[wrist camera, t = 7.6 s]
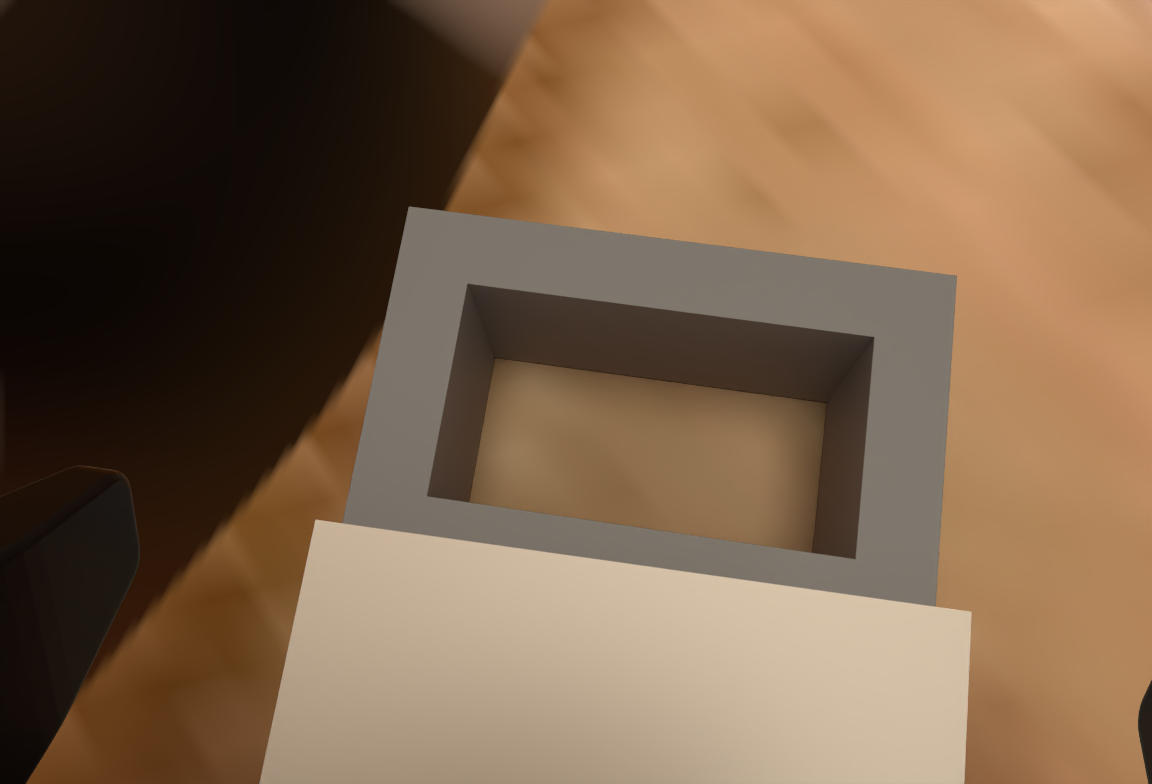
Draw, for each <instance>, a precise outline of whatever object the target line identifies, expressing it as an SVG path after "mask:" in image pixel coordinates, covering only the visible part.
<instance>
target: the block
mask: <svg viewBox="0 0 1152 784" xmlns="http://www.w3.org/2000/svg"><path fill="white" fill-rule="evenodd" d="M971 613H972V612H969V611H962V610H955V609H948V608H941V607H933V606H926V605H919V604H912V603H905V602H898V601H891V600H884V599H876V598H869V597H862V596H855V595H848V594H841V593H834V592H827V591H820V590H812V589H805V588H798V587H791V586H784V585H777V584H770V583H763V582H755V581H748V580H741V579H734V578H727V577H720V576H713V575H706V574H699V573H691V572H684V571H677V570H670V569H663V568H656V567H649V566H642V565H634V564H627V563H620V562H613V561H606V560H599V559H592V558H585V557H578V556H570V555H563V554H556V553H549V552H542V551H535V550H528V549H521V548H513V547H506V546H499V545H492V544H485V543H478V542H471V541H464V540H456V539H449V538H442V537H435V536H428V535H421V534H414V533H407V532H400V531H392V530H385V529H378V528H371V527H364V526H357V525H350V524H343V523H335V522H328V521H321V520H315V525H314V529H313V534H312V539H311V543H310V548H309V553H308V557H307V562H306V567H305V572H304V576H303V581H302V586H301V590H300V595H299V600H298V604H297V609H296V614H295V618H294V623H293V628H292V633H291V637H290V642H289V647H288V651H287V656H286V661H285V665H284V670H283V675H282V679H281V684H280V689H279V694H278V698H277V703H276V708H275V712H274V717H273V722H272V726H271V731H270V736H269V740H268V745H267V750H266V755H265V759H264V764H263V769H262V773H261V778H260V783H259V784H964V780H965V756H966V732H967V708H968V684H969V660H970V637H971Z"/></svg>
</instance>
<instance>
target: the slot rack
mask: <svg viewBox="0 0 1152 784" xmlns="http://www.w3.org/2000/svg"><path fill="white" fill-rule="evenodd" d="M956 283H957V276H955V275H947V274H939V273H931V272H924V271H916V270H908V269H900V268H892V267H884V266H876V265H868V264H860V263H852V262H844V261H836V260H828V259H820V258H812V257H804V256H797V255H789V254H781V253H773V252H765V251H757V250H749V249H741V248H733V247H725V246H717V245H709V244H701V243H693V242H685V241H677V240H670V239H662V238H654V237H646V236H638V235H630V234H622V233H614V232H606V231H598V230H590V229H582V228H574V227H566V226H558V225H550V224H543V223H535V222H527V221H519V220H511V219H503V218H495V217H487V216H479V215H471V214H463V213H455V212H447V211H439V210H431V209H423V208H416V207H409V209H408V214H407V219H406V224H405V228H404V233H403V238H402V242H401V247H400V252H399V257H398V262H397V266H396V271H395V276H394V280H393V285H392V290H391V295H390V299H389V304H388V309H387V314H386V318H385V323H384V328H383V333H382V337H381V342H380V347H379V352H378V356H377V361H376V366H375V371H374V375H373V380H372V385H371V390H370V394H369V399H368V404H367V409H366V413H365V418H364V423H363V428H362V433H361V437H360V442H359V447H358V452H357V456H356V461H355V466H354V471H353V475H352V480H351V485H350V490H349V494H348V499H347V504H346V509H345V513H344V518H343V524H350V525H357V526H364V527H371V528H378V529H385V530H392V531H400V532H407V533H414V534H421V535H428V536H435V537H442V538H449V539H456V540H464V541H471V542H478V543H485V544H492V545H499V546H506V547H513V548H521V549H528V550H535V551H542V552H549V553H556V554H563V555H570V556H578V557H585V558H592V559H599V560H606V561H613V562H620V563H627V564H634V565H642V566H649V567H656V568H663V569H670V570H677V571H684V572H691V573H699V574H706V575H713V576H720V577H727V578H734V579H741V580H748V581H755V582H763V583H770V584H777V585H784V586H791V587H798V588H805V589H812V590H820V591H827V592H834V593H841V594H848V595H855V596H862V597H869V598H876V599H884V600H891V601H898V602H905V603H912V604H919V605H926V606H933V607H935V605H936V590H937V575H938V559H939V544H940V529H941V513H942V498H943V483H944V467H945V452H946V436H947V421H948V406H949V390H950V375H951V360H952V344H953V329H954V314H955V298H956ZM495 358H503V359H510V360H517V361H525V362H532V363H540V364H547V365H554V366H562V367H569V368H576V369H584V370H591V371H598V372H606V373H613V374H620V375H628V376H635V377H642V378H650V379H657V380H664V381H672V382H679V383H686V384H694V385H701V386H709V387H716V388H723V389H731V390H738V391H745V392H753V393H760V394H767V395H775V396H782V397H789V398H797V399H804V400H811V401H819V402H826V403H827V407H826V417H825V428H824V438H823V449H822V459H821V470H820V480H819V491H818V501H817V512H816V522H815V533H814V543H813V553H809V552H802V551H796V550H789V549H782V548H775V547H768V546H761V545H755V544H748V543H741V542H734V541H727V540H721V539H714V538H707V537H700V536H693V535H687V534H680V533H673V532H666V531H659V530H652V529H646V528H639V527H632V526H625V525H618V524H612V523H605V522H598V521H591V520H584V519H578V518H571V517H564V516H557V515H550V514H543V513H537V512H530V511H523V510H516V509H509V508H503V507H496V506H489V505H482V504H475V503H469V498H470V492H471V487H472V481H473V475H474V470H475V464H476V459H477V453H478V448H479V442H480V437H481V431H482V426H483V420H484V415H485V409H486V403H487V398H488V392H489V387H490V381H491V376H492V370H493V365H494V359H495Z"/></svg>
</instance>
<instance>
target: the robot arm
mask: <svg viewBox="0 0 1152 784" xmlns="http://www.w3.org/2000/svg"><path fill="white" fill-rule="evenodd" d="M139 553H140V547H139V539H138V532H137V526H136V519H135V513H134V506H133V499H132V493H131V488H130V484H129V482H128V480H127V478H126V476H124V475H123V474H122V473H120V472H119V471H115V470H109V469H102V468H95V467H89V466H74V467H71V468H68V469H66V470H63V471H61V472H58V473H56V474H53V475H51V476H49V477H46V478H44V479H41V480H39V481H36V482H34V483H32V484H29V485H27V486H24V487H22V488H19V489H17V490H15V491H12V492H10V493H7V494H5V495H3V496H0V784H26V782H27V781H28V779H29V777H30V776H31V774H32V773H33V771H34V770H35V768H36V766H37V765H38V763H39V762H40V760H41V758H42V757H43V755H44V754H45V752H46V750H47V749H48V747H49V745H50V744H51V742H52V740H53V739H54V737H55V735H56V733H57V732H58V730H59V728H60V727H61V725H62V723H63V721H64V719H65V717H66V715H67V714H68V712H69V710H70V708H71V706H72V704H73V702H74V700H75V698H76V696H77V694H78V692H79V690H80V688H81V686H82V684H83V682H84V679H85V677H86V675H87V673H88V671H89V669H90V667H91V665H92V663H93V661H94V659H95V657H96V655H97V653H98V650H99V648H100V646H101V644H102V642H103V640H104V638H105V636H106V634H107V632H108V630H109V628H110V626H111V624H112V622H113V620H114V617H115V615H116V613H117V611H118V609H119V607H120V605H121V603H122V601H123V599H124V597H125V595H126V593H127V591H128V588H129V586H130V584H131V582H132V580H133V578H134V576H135V573H136V570H137V567H138V562H139ZM1138 730H1139V737H1140V742H1141V747H1142V753H1143V758H1144V763H1145V768H1146V774H1147V779H1148V784H1152V680H1151V683H1150V685H1149V687H1148V689H1147V691H1146V693H1145V695H1144V697H1143V700H1142V702H1141V705H1140V710H1139V717H1138Z"/></svg>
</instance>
